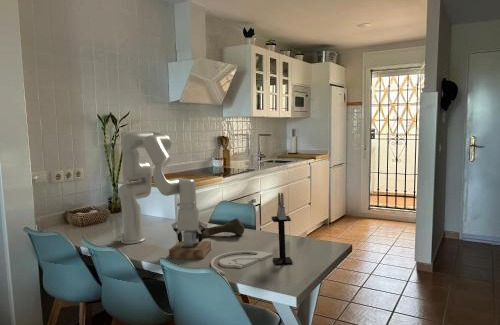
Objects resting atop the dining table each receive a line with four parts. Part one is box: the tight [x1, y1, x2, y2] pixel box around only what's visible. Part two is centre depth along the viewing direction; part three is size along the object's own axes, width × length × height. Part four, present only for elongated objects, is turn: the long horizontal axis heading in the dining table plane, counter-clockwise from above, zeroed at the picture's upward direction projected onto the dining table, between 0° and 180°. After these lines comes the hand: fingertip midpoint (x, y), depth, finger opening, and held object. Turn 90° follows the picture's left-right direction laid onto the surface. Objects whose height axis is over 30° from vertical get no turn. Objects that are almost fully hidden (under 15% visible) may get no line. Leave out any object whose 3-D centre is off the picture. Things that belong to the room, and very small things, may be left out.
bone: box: [196, 217, 245, 239], centre depth 215 cm, size 10×10×30 cm
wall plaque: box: [210, 250, 274, 276], centre depth 173 cm, size 19×2×30 cm
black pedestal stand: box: [271, 192, 294, 266], centre depth 167 cm, size 10×8×30 cm
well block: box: [168, 240, 212, 260], centre depth 185 cm, size 16×14×4 cm
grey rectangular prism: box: [182, 231, 197, 248], centre depth 186 cm, size 4×7×10 cm, turn 171°
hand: (190, 241), depth 185 cm, fingers open, 9 cm apart
